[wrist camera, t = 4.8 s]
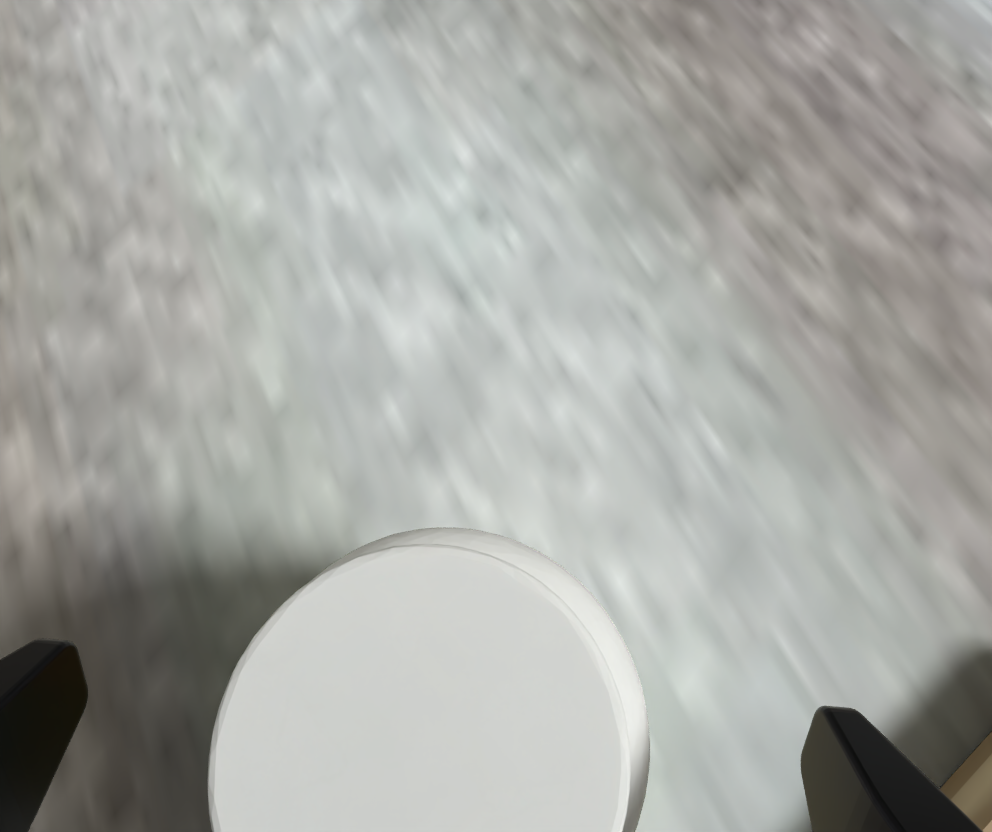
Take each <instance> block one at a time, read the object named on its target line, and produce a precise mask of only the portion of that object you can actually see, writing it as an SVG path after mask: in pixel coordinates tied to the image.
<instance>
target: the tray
mask: <svg viewBox="0 0 992 832" xmlns="http://www.w3.org/2000/svg"><path fill="white" fill-rule="evenodd" d="M940 790H941V791H942V792H943V793H944V794H945V795H946V796H947V797H948V798H949V799H950V800H951V801H952V802H953V803H954V804H955V805H956V806H957V807H958V808H959V809H960V810H962V811H963V812H964V813H965V814H966V815H967V816H968V817H969V818H970V819H971V820H972V821H973V822H974V823H975V824H976V825H977V826H978V827H979V828H980V829H981V830H982V831H983V832H992V732H991V733H990V734H989V735H988V736H987V737H986V738H985V739H984V741H983V742H982V743H981V744H980V745H979V746H978V747H977V748H976V749H975V751H974V752H973V753H972V754H971V755H970V756H969V757H968V758H967V759H966V760H965V762H964V763H963V764H962V765H961V766H960V767H959V768H958V769H957V770H956V772H955V773H954V774H953V775H952V776H951V777H950V778H949V779H948V780H947V782H946V783H945V784H944V785H943V786H942V787H941V788H940Z"/></svg>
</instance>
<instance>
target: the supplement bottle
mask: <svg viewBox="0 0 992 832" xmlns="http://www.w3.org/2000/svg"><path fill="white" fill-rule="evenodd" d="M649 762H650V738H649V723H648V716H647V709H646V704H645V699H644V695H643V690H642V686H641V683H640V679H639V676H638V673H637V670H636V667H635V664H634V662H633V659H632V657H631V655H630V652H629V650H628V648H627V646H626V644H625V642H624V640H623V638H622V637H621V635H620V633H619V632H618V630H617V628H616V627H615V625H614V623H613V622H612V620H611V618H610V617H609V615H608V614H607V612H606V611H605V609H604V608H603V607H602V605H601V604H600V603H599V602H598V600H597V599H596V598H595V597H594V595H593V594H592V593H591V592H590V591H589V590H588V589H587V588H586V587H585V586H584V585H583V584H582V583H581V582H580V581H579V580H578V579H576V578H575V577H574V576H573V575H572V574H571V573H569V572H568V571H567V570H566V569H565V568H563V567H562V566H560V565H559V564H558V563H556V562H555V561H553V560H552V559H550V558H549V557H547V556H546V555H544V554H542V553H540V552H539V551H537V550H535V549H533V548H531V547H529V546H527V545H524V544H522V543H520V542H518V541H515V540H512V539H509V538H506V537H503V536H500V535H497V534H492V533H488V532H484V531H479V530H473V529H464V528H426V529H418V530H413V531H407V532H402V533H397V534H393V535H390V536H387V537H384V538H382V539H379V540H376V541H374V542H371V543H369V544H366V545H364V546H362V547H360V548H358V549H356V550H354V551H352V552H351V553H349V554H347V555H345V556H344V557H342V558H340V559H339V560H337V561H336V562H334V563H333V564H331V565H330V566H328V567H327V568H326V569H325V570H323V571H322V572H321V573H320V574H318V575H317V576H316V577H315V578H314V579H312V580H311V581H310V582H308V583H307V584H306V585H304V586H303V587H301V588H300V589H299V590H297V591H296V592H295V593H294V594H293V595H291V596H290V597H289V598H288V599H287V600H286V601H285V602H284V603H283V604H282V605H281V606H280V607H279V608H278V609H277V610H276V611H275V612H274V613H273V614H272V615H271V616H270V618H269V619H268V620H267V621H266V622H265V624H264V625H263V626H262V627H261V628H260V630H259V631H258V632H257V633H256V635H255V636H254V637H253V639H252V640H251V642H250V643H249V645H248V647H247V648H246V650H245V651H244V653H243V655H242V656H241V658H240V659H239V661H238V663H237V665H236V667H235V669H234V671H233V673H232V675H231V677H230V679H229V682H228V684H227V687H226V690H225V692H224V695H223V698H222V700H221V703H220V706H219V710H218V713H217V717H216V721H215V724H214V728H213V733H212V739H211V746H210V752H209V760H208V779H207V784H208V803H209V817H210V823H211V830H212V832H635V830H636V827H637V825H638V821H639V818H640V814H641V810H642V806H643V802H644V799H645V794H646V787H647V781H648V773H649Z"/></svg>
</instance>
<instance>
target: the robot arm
mask: <svg viewBox="0 0 992 832" xmlns="http://www.w3.org/2000/svg"><path fill="white" fill-rule="evenodd" d="M87 698H88V688H87V683H86V680H85V676H84V672H83V668H82V665H81V661H80V657H79V654H78V650H77V647H76V646H75V645H74V644H73V643H72V642H70V641H68V640H56V639H44V638H43V639H37V640H34V641H32V642H30V643H28V644H27V645H25V646H23V647H21V648H20V649H18V650H16V651H15V652H13V653H11V654H9V655H8V656H6V657H4V658H2V659H1V660H0V832H28V830H29V828H30V826H31V824H32V822H33V820H34V818H35V816H36V814H37V812H38V810H39V808H40V806H41V803H42V801H43V799H44V797H45V795H46V793H47V790H48V788H49V786H50V784H51V782H52V779H53V777H54V775H55V773H56V771H57V769H58V766H59V764H60V762H61V760H62V758H63V755H64V753H65V751H66V749H67V747H68V745H69V742H70V740H71V738H72V736H73V734H74V732H75V729H76V727H77V725H78V723H79V721H80V718H81V716H82V714H83V712H84V709H85V707H86V703H87ZM801 773H802V779H803V784H804V790H805V795H806V800H807V805H808V810H809V816H810V821H811V826H812V831H813V832H983V831H982V830H981V829H980V828H979V827H978V826H977V825H976V824H975V823H974V822H973V821H972V820H971V819H970V818H969V817H968V816H967V815H966V814H965V813H964V812H963V811H962V810H960V809H959V808H958V807H957V806H956V805H955V804H954V803H953V802H952V801H951V800H950V799H949V798H948V797H947V796H946V795H945V794H944V793H943V792H942V791H941V790H940V789H939V788H938V787H937V786H936V785H935V784H934V783H932V782H931V781H930V780H929V779H928V778H927V777H926V776H925V775H924V774H923V773H922V772H921V771H920V770H919V769H918V768H917V767H916V766H915V765H914V764H913V763H912V762H911V761H910V760H909V759H908V758H907V757H906V756H905V755H903V754H902V753H901V752H900V751H899V750H898V749H897V748H896V747H895V746H894V745H893V744H892V743H891V742H890V741H889V740H888V739H887V738H886V737H885V736H884V735H883V734H882V733H881V732H880V731H879V730H878V729H877V728H875V727H874V726H873V725H872V724H871V723H870V722H869V721H868V720H867V719H866V718H865V717H864V716H863V715H862V714H861V713H860V712H858V711H856V710H855V709H852V708H845V707H833V706H821V707H819V708H818V709H817V710H816V712H815V714H814V717H813V720H812V723H811V726H810V729H809V732H808V735H807V738H806V741H805V744H804V747H803V750H802V754H801Z"/></svg>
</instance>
